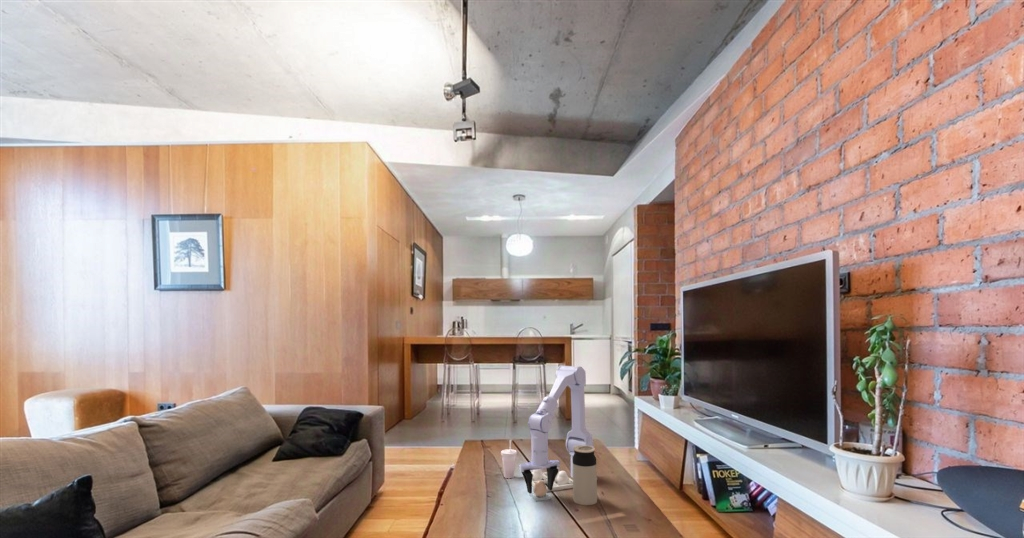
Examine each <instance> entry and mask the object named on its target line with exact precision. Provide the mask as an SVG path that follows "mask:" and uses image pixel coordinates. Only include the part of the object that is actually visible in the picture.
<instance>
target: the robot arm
mask: <svg viewBox="0 0 1024 538" xmlns="http://www.w3.org/2000/svg"><path fill="white" fill-rule="evenodd" d="M586 373H587V372H586V370H585V369H584V368H583V366H575V365H562V364H560V365H558V367H557V369H556V371H555V381H554V382H553V385H552V387H551V390H550V392H549V394H548V396H544V397H543V399H542V400H541V402H540V404H539V406H538V408H537V410H536V412H535V413H532V414H531V415H530V416H529V417H528V421H527V427H528V430H529V436H531V438H530V439H531V440H530V444H531V445H530V446H531V447H530V448H531V458H530V459H531V461H529V462H526V463H521V464H519V465H518V470H519V471H520V473H521V474H522V478H523V477H524V479H525V480H524V479H523V480H524V482H525V484H526V489H527V491H526V492H527V493H528V494H529V493H533V487H532V481H533V480H532V478H533V474H532V471H533V470H536V469H541V470H542V469H543V470H544V469H546V472H547V477H548V483H547V487H548V489H549V490H552V488H553V483H554V480H555V478H556V475H557V474H558V468H560V467H561V465H560V464H561V462H560V461H559V460H558V459H550V460H549V442H548V441H549V438H548V435H549V434H548V432H549V431H550V430H551V427H552V422H553V416H554V414H555V412H556V411H557V408H558V406H559V404H558V400H559V399H560V397H561V396H562V394H563V393H564V391H565V390H566V388H567V387H568V388H569V389H570V400H571V401H570V402H571V403H570V406H571V408H570V409H571V410H570V411H571V430H569V431H568V432H567V433H566V440H565V448H566V451H567V452H568V455H570V478H571V479H573V455H574V450H573V447H575V446H578V445H588V446H592V447H594V448H595V444H594V441H593V435H592V434H591V432H590V431H588V430H587V429H586V404H585V398H586V397H585V387H586V386H587V383H586V382H587V379H586ZM557 467H558V468H557ZM597 480H598V478H597Z"/></svg>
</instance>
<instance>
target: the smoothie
mask: <svg viewBox="0 0 1024 538" xmlns="http://www.w3.org/2000/svg"><path fill="white" fill-rule="evenodd" d="M500 455H501V459H502V460H501V461H502V469H503V478H504V477H505V479H507V478H508V479H509V480H510V478H511V479H513V478H515V469H516V460H517V455H518V452H517V450H516V449H512V439H509V448H506V449H503V450H501V451H500Z"/></svg>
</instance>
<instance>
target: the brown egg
mask: <svg viewBox="0 0 1024 538" xmlns="http://www.w3.org/2000/svg"><path fill="white" fill-rule="evenodd" d="M546 487H547V486H546V484H545V483H544V482H543V481H541V480H538V481H537V482H536V483H535V486H534V488H533V487H532V493H534V494H535V495H536V496H537V497H544V496H545V494H546V493H548V492H547V488H546Z"/></svg>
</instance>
